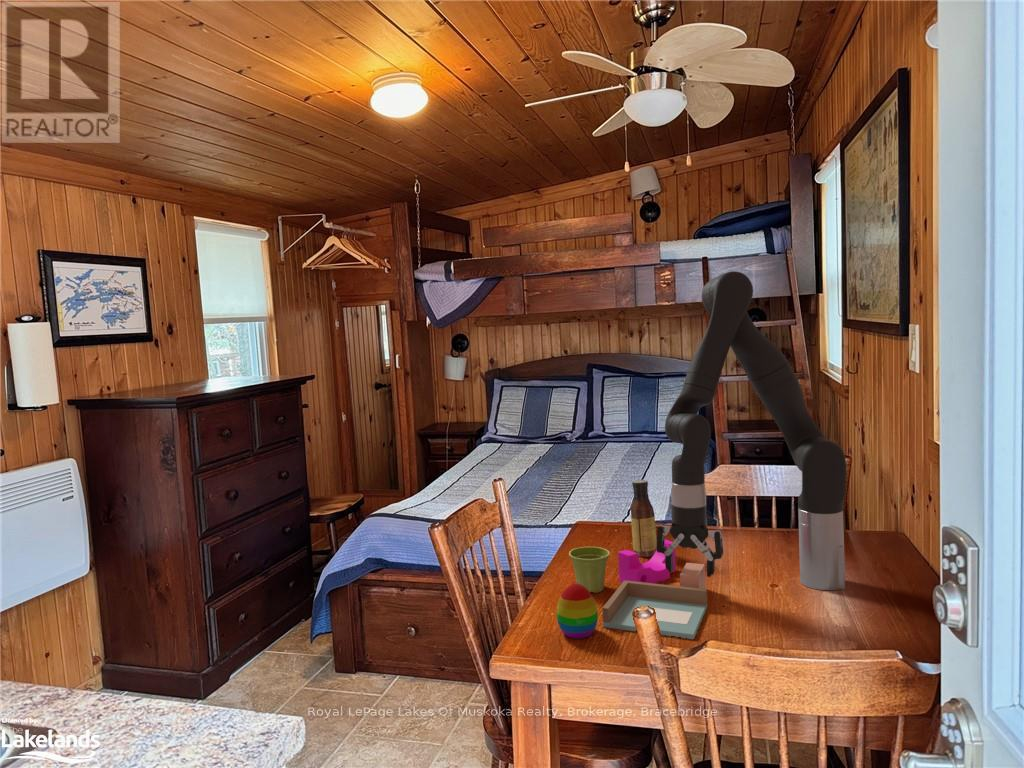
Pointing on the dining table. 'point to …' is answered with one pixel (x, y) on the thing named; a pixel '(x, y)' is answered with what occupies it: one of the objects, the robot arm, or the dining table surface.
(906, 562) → the dining table surface
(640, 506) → the sauce bottle
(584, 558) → the plant pot
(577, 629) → the decorative egg
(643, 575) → the toy block
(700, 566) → the block
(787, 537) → the dining table surface
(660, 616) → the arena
